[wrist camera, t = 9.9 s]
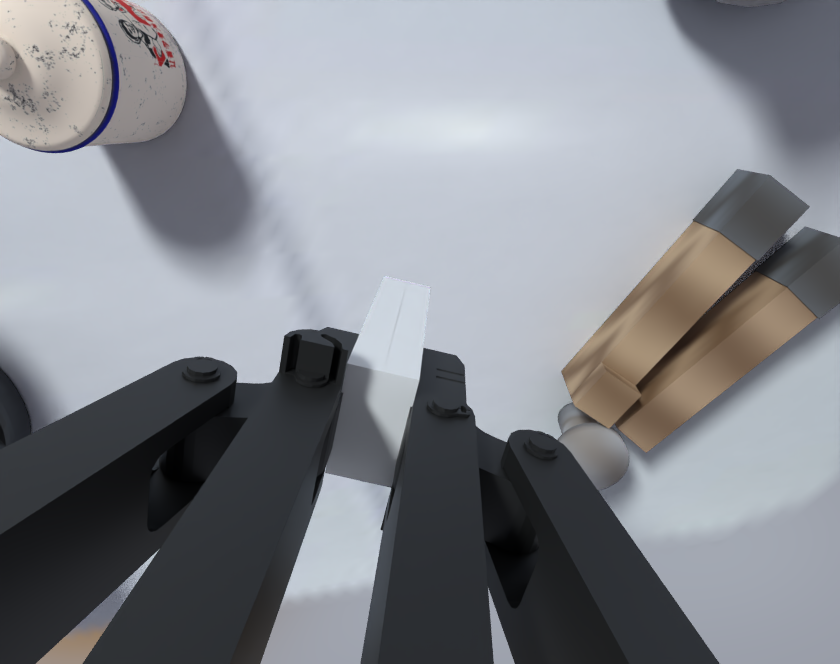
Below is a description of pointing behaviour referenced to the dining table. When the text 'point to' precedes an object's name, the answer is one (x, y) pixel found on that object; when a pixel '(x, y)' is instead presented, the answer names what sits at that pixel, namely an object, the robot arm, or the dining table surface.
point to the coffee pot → (750, 2)
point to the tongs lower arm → (732, 338)
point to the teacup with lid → (86, 74)
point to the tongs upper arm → (669, 311)
